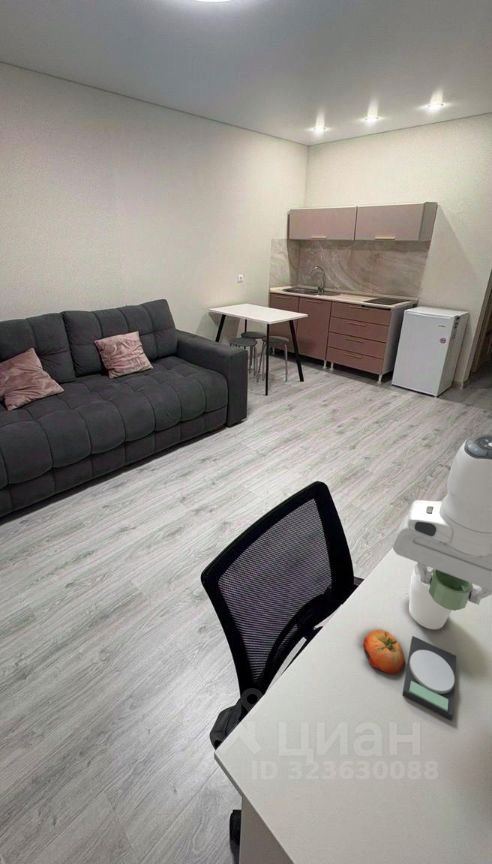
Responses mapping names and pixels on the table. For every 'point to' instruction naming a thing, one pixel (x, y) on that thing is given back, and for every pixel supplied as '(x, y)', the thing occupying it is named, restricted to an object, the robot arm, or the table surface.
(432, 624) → the cup
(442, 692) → the scale
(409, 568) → the table surface
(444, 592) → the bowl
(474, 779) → the table surface
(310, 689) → the table surface
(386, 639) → the tomato
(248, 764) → the table surface
